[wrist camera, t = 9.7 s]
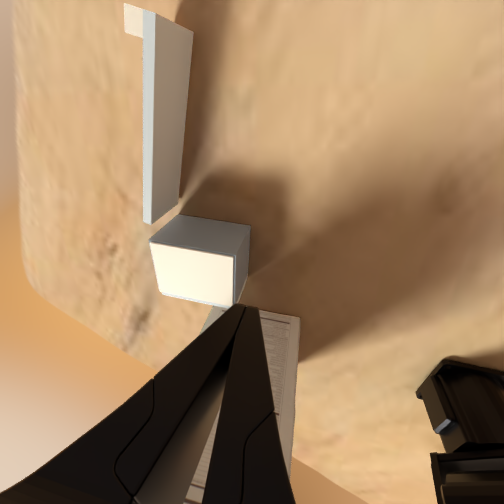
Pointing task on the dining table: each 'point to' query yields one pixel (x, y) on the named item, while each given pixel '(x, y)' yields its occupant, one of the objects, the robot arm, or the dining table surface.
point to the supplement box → (282, 383)
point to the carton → (202, 260)
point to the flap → (162, 105)
